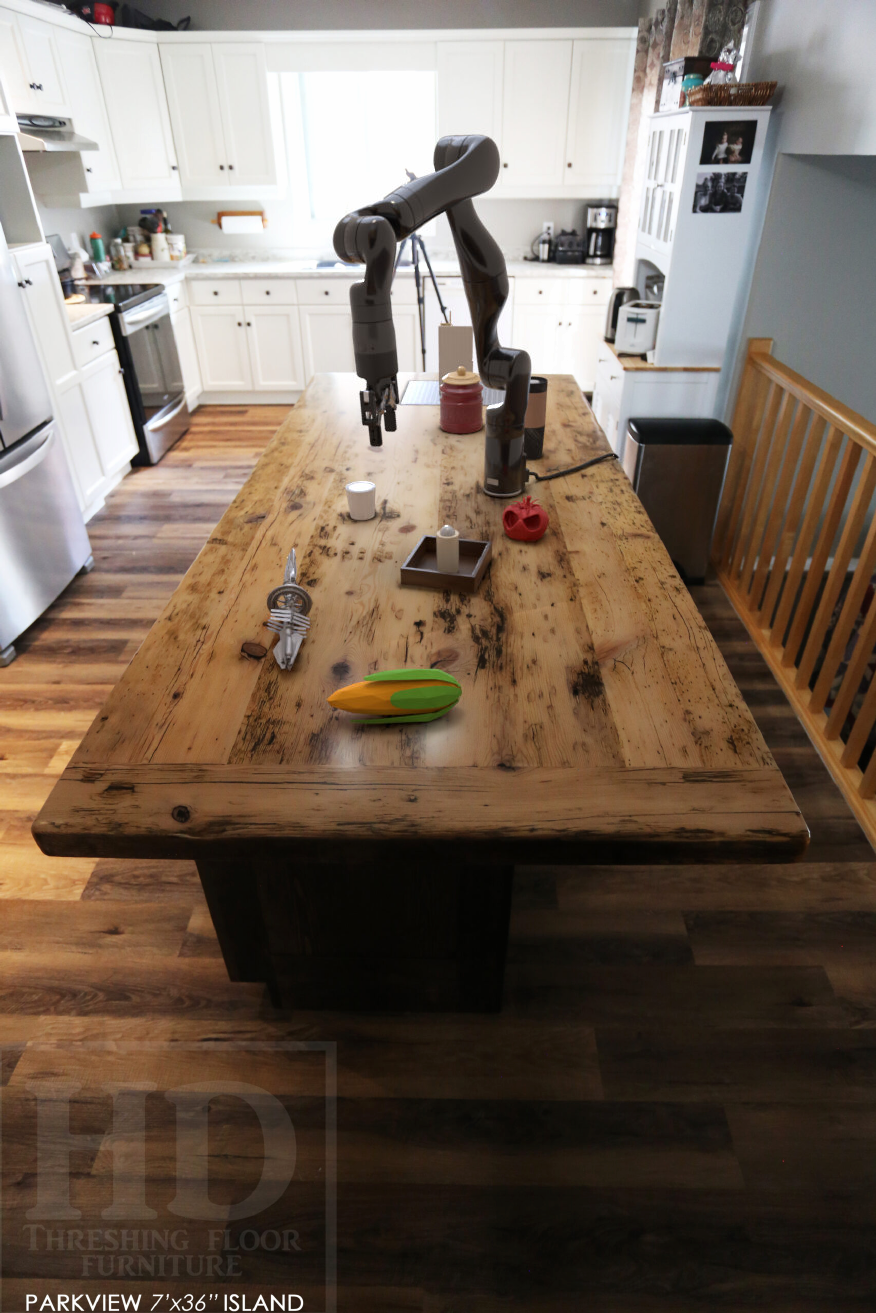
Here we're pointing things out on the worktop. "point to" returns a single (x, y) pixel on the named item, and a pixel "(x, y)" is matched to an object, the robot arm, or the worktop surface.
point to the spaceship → (289, 614)
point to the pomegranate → (525, 520)
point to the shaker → (447, 549)
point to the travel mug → (535, 418)
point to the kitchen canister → (461, 402)
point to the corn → (400, 695)
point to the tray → (424, 572)
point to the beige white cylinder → (361, 500)
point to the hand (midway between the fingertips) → (384, 438)
